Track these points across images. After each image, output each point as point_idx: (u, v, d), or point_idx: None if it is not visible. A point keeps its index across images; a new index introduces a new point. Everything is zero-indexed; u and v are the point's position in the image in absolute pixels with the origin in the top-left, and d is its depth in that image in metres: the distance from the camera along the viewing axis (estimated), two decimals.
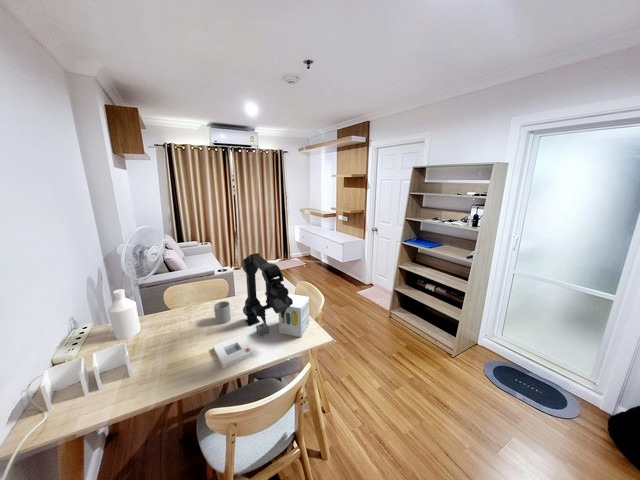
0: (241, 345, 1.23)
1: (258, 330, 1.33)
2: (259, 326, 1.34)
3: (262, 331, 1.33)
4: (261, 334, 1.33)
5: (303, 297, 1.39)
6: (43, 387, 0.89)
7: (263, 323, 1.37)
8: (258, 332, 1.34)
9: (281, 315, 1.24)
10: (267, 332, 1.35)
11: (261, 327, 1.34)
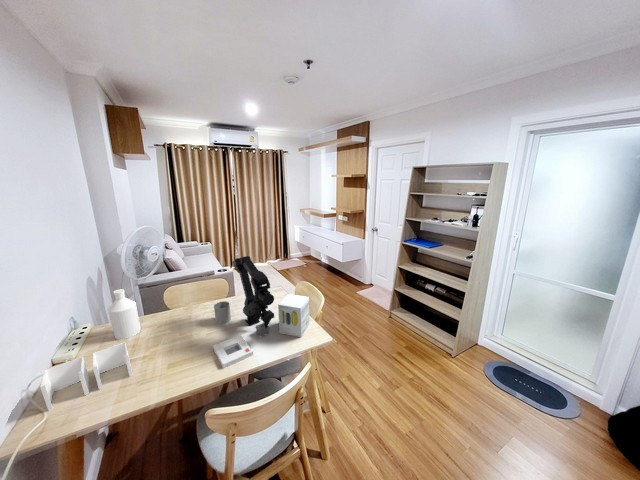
0: (241, 345, 1.23)
1: (258, 330, 1.33)
2: (259, 326, 1.34)
3: (262, 331, 1.33)
4: (261, 334, 1.33)
5: (303, 297, 1.39)
6: (43, 387, 0.89)
7: (263, 323, 1.37)
8: (258, 332, 1.34)
9: None
10: (267, 332, 1.35)
11: (261, 327, 1.34)
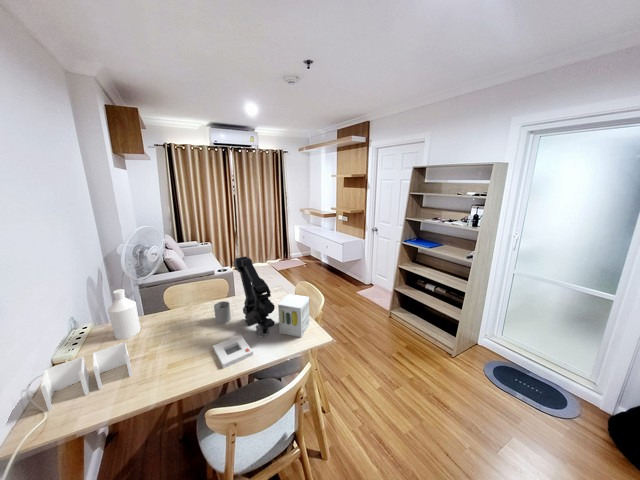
0: (241, 345, 1.23)
1: (258, 330, 1.33)
2: (259, 326, 1.34)
3: (262, 331, 1.33)
4: (261, 334, 1.33)
5: (303, 297, 1.39)
6: (43, 387, 0.89)
7: None
8: (258, 332, 1.34)
9: None
10: (267, 332, 1.35)
11: (261, 327, 1.34)
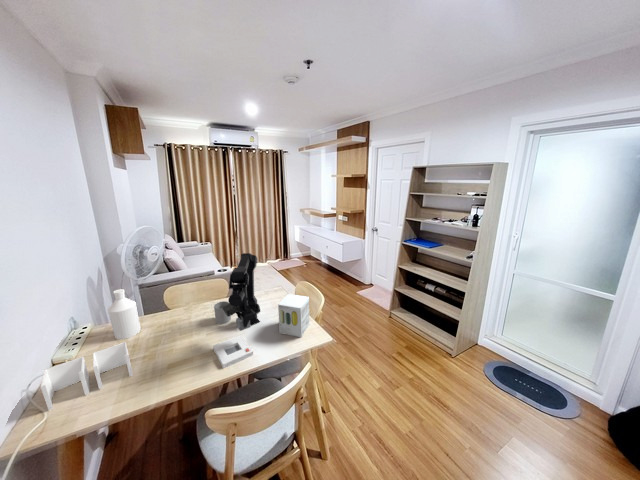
0: (241, 345, 1.23)
1: (238, 323, 1.21)
2: (239, 319, 1.22)
3: (242, 324, 1.21)
4: (241, 327, 1.21)
5: (303, 297, 1.39)
6: (44, 387, 0.89)
7: None
8: (238, 325, 1.22)
9: None
10: (248, 325, 1.23)
11: (241, 320, 1.21)
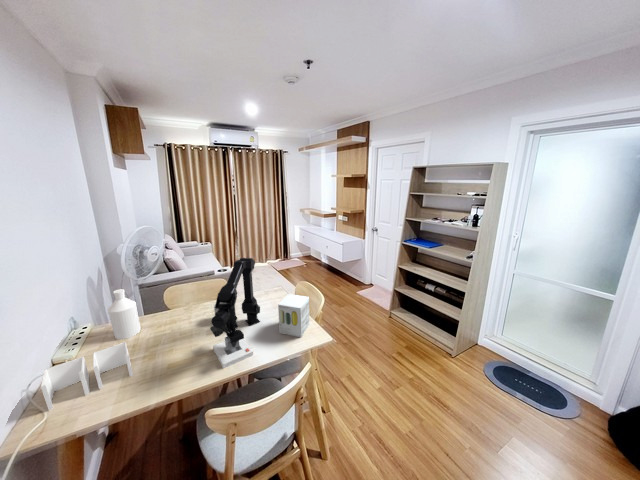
0: (241, 345, 1.23)
1: (226, 343, 1.18)
2: None
3: (231, 344, 1.18)
4: (230, 347, 1.18)
5: (303, 297, 1.39)
6: (44, 387, 0.89)
7: None
8: (226, 345, 1.19)
9: None
10: (237, 345, 1.20)
11: None
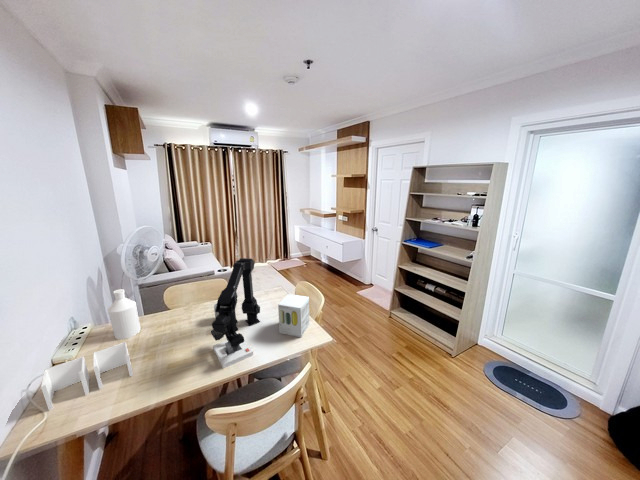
0: (241, 345, 1.23)
1: (227, 348, 1.19)
2: (228, 343, 1.20)
3: (231, 349, 1.19)
4: (230, 353, 1.19)
5: (303, 297, 1.39)
6: (44, 387, 0.89)
7: None
8: (227, 350, 1.19)
9: None
10: (237, 350, 1.21)
11: None
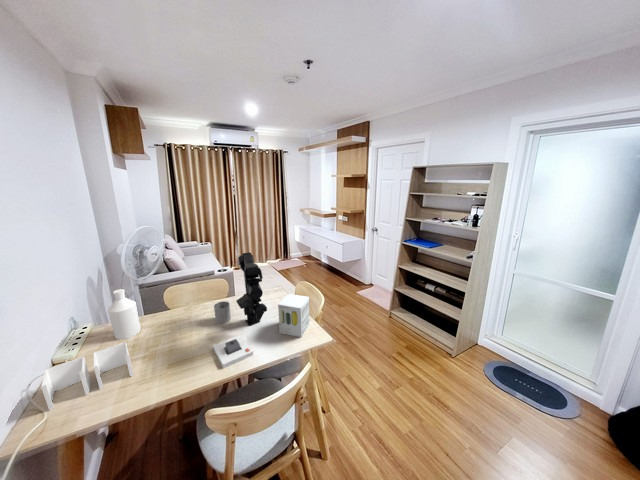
0: (241, 345, 1.23)
1: (227, 348, 1.19)
2: (228, 343, 1.20)
3: (231, 349, 1.19)
4: (230, 353, 1.19)
5: (303, 297, 1.39)
6: (44, 387, 0.89)
7: (234, 340, 1.23)
8: (227, 350, 1.19)
9: None
10: (237, 350, 1.21)
11: (230, 345, 1.19)
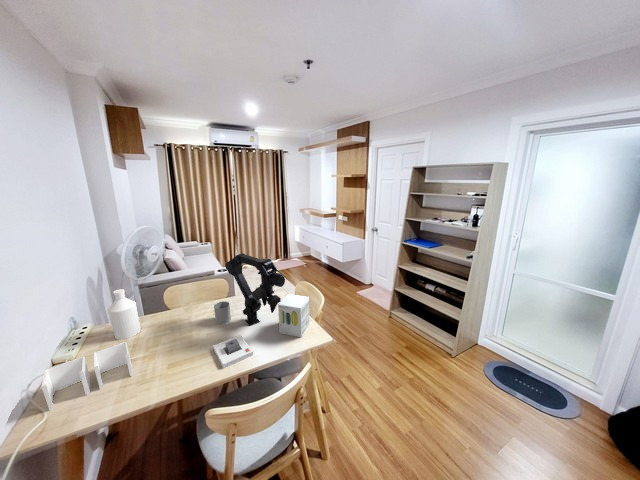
0: (241, 345, 1.23)
1: (227, 348, 1.19)
2: (228, 343, 1.20)
3: (231, 349, 1.19)
4: (230, 353, 1.19)
5: (303, 297, 1.39)
6: (44, 386, 0.89)
7: (234, 340, 1.23)
8: (227, 350, 1.19)
9: None
10: (237, 350, 1.21)
11: (230, 345, 1.19)
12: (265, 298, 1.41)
